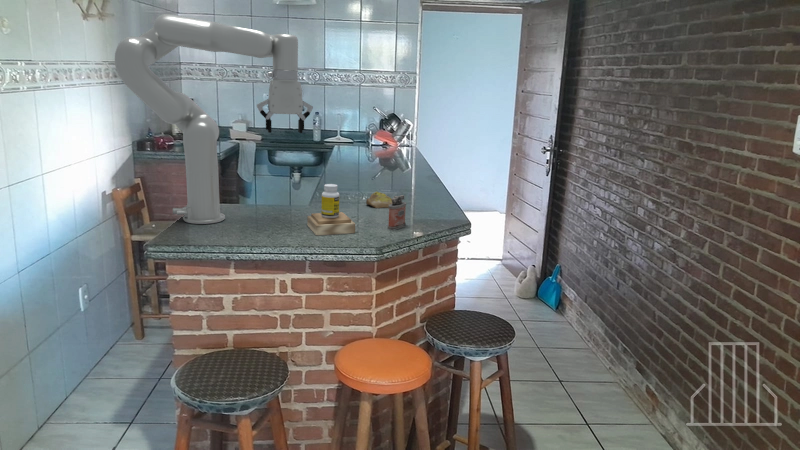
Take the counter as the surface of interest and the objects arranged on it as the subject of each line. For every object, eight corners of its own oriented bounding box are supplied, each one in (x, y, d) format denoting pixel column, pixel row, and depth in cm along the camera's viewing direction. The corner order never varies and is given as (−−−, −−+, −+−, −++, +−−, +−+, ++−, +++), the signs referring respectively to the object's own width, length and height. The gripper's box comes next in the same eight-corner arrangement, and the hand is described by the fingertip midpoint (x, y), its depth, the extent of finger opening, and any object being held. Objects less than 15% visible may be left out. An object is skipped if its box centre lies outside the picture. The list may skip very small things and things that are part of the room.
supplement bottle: (336, 219, 180) (336, 187, 177) (318, 217, 181) (319, 186, 178) (341, 215, 185) (341, 184, 182) (324, 213, 186) (324, 182, 183)
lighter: (394, 230, 185) (395, 199, 183) (385, 228, 187) (386, 197, 184) (407, 225, 192) (409, 195, 189) (398, 223, 194) (400, 193, 191)
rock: (368, 208, 224) (358, 201, 215) (374, 191, 225) (365, 183, 216) (397, 218, 220) (388, 212, 211) (404, 201, 221) (396, 194, 211)
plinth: (316, 235, 176) (316, 222, 175) (307, 225, 187) (307, 213, 186) (355, 233, 180) (355, 220, 179) (344, 223, 191) (344, 211, 190)
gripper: (258, 75, 176) (258, 133, 180) (315, 78, 182) (314, 134, 186) (254, 74, 183) (255, 130, 187) (310, 77, 189) (309, 131, 193)
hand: (285, 132), depth 187 cm, fingers open, 9 cm apart
